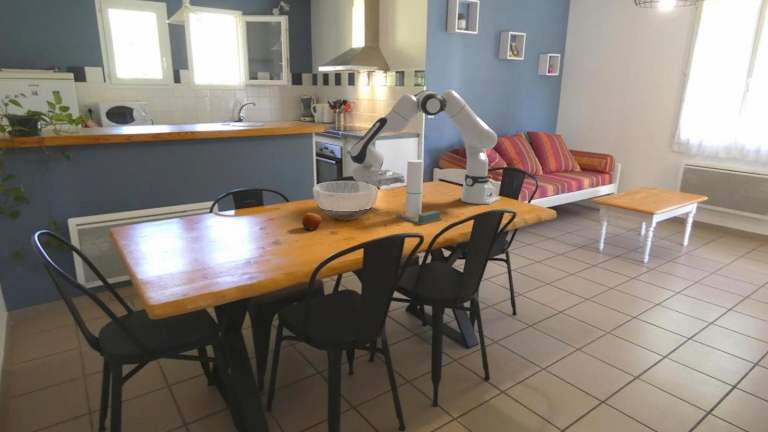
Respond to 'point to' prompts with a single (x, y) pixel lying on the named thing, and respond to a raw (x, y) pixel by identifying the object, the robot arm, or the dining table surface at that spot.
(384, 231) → the dining table surface
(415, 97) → the robot arm
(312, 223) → the fruit
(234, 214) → the dining table surface
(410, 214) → the cylindrical container
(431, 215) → the deck plate
